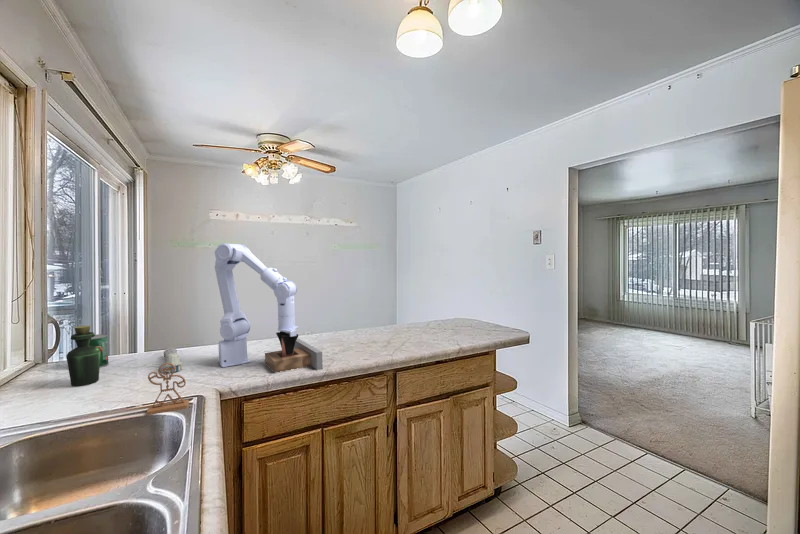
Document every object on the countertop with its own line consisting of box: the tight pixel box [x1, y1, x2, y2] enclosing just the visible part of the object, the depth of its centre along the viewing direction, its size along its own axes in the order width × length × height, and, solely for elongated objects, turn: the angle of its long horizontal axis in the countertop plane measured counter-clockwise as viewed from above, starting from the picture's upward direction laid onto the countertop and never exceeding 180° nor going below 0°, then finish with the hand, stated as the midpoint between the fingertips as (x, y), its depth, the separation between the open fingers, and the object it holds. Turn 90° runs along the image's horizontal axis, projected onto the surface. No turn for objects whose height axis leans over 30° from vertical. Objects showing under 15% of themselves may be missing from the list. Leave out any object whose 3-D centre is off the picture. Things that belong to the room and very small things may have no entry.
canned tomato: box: [89, 333, 110, 369], centre depth 128 cm, size 8×8×11 cm
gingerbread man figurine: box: [145, 362, 190, 416], centre depth 90 cm, size 9×4×12 cm, turn 116°
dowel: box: [281, 339, 294, 357], centre depth 125 cm, size 4×4×8 cm
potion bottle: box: [66, 325, 101, 388], centre depth 110 cm, size 8×8×18 cm
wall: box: [294, 338, 323, 371], centre depth 129 cm, size 2×24×6 cm, turn 35°
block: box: [264, 347, 312, 373], centre depth 125 cm, size 12×12×4 cm
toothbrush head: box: [163, 347, 183, 373], centre depth 129 cm, size 5×7×25 cm
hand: (287, 352), depth 125 cm, fingers closed on dowel, 4 cm apart
